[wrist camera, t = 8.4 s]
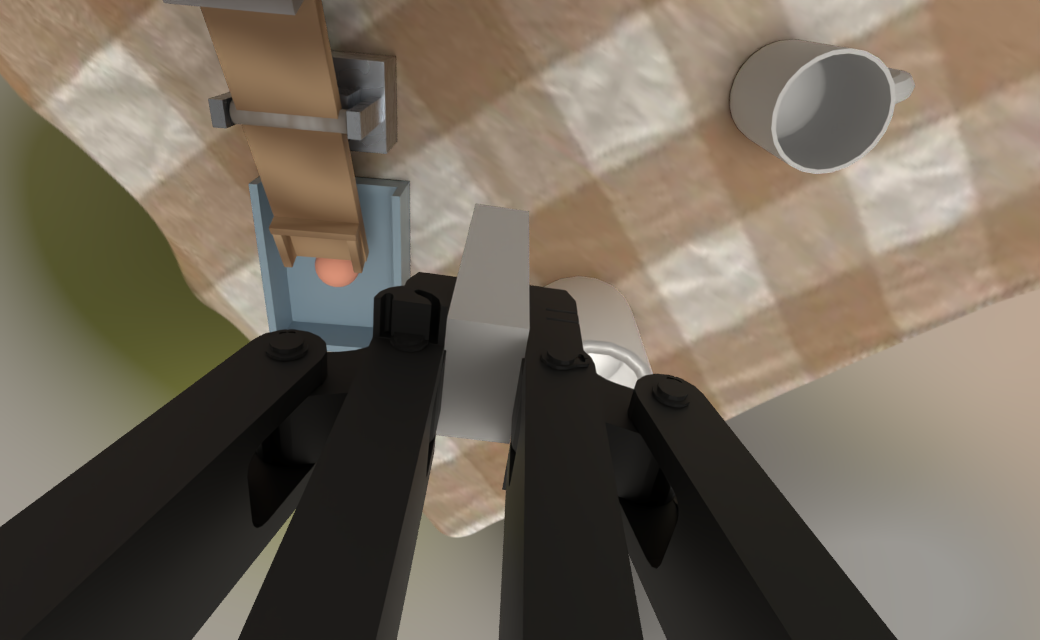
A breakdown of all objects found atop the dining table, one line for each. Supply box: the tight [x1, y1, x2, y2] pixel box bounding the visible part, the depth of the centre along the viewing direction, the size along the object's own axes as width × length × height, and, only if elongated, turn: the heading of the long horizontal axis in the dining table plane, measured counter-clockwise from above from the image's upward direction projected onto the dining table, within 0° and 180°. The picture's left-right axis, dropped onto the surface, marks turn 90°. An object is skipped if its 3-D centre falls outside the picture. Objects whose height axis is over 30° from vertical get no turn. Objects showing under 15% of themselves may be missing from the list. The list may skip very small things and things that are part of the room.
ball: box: [315, 258, 359, 287], centre depth 48 cm, size 4×4×4 cm
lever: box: [163, 0, 369, 273], centre depth 36 cm, size 24×7×9 cm, turn 176°
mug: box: [544, 276, 653, 389], centre depth 48 cm, size 14×10×11 cm
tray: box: [249, 176, 410, 352], centre depth 48 cm, size 14×11×4 cm
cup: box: [730, 39, 915, 174], centre depth 39 cm, size 7×10×9 cm
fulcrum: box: [208, 50, 397, 154], centre depth 39 cm, size 6×9×10 cm, turn 85°
